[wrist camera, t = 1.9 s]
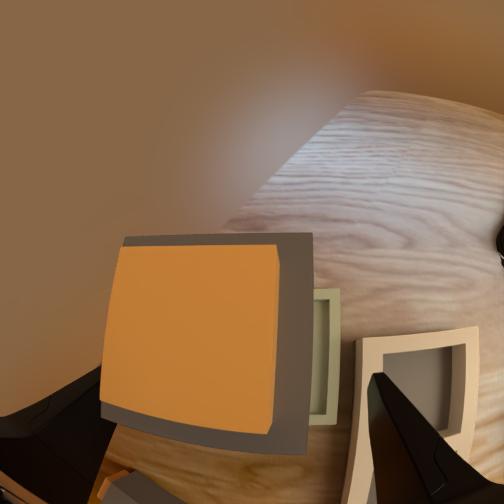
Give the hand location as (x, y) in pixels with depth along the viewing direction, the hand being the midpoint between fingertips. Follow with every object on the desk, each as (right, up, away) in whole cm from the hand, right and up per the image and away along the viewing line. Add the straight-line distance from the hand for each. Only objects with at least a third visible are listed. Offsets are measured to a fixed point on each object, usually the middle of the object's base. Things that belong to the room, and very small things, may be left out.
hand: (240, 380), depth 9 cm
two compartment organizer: (+11, -9, +5) cm, 15 cm away
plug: (+2, -2, +9) cm, 9 cm away
